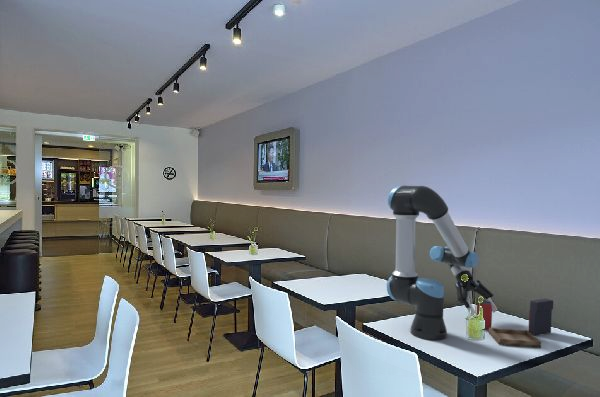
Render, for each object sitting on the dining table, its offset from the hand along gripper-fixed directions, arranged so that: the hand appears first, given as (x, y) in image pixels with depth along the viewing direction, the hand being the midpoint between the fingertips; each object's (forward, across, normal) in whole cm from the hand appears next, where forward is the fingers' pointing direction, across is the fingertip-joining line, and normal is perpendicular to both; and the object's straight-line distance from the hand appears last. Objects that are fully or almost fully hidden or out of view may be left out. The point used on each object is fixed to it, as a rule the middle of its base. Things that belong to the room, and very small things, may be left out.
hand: (484, 312), depth 193 cm
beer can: (+5, +1, -4) cm, 7 cm away
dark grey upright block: (+16, -17, +6) cm, 24 cm away
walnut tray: (+17, +2, +8) cm, 19 cm away
